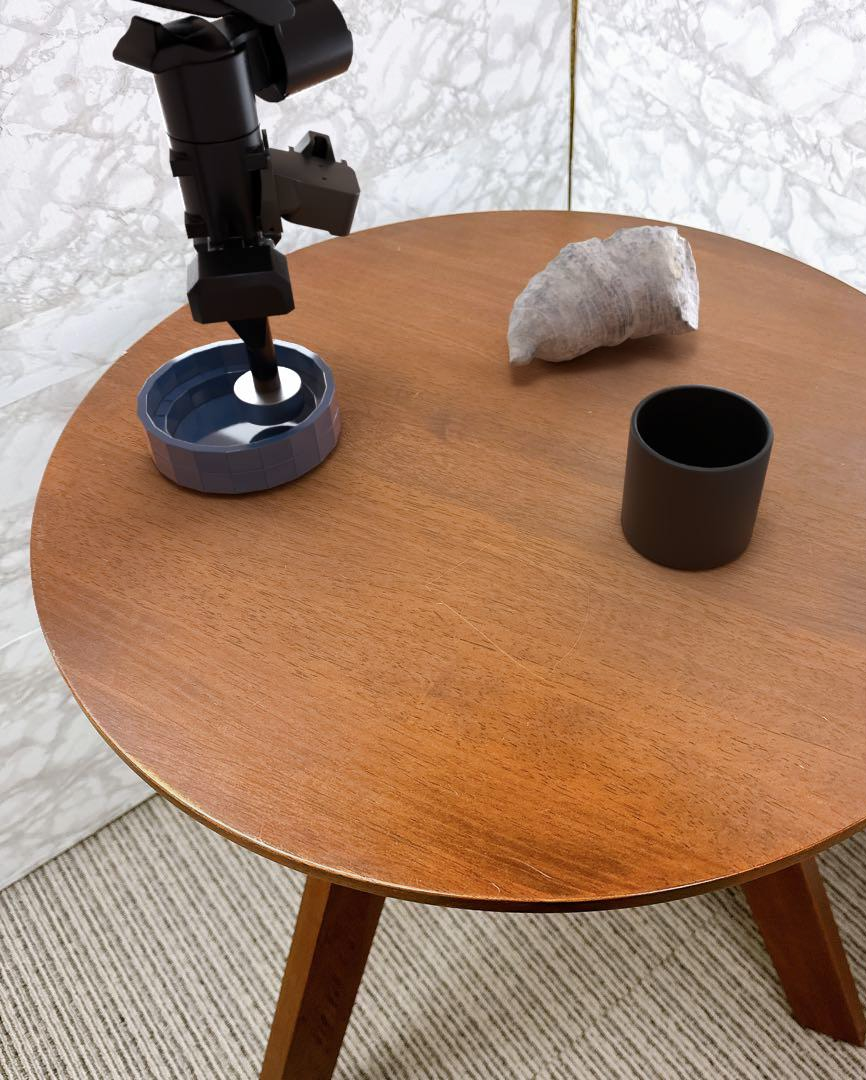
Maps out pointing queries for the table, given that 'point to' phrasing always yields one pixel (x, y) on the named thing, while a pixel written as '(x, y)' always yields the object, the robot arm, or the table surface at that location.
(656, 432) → the black cup
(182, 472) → the bowl
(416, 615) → the table surface
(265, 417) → the paper towel holder
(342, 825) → the table surface
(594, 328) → the seashell
